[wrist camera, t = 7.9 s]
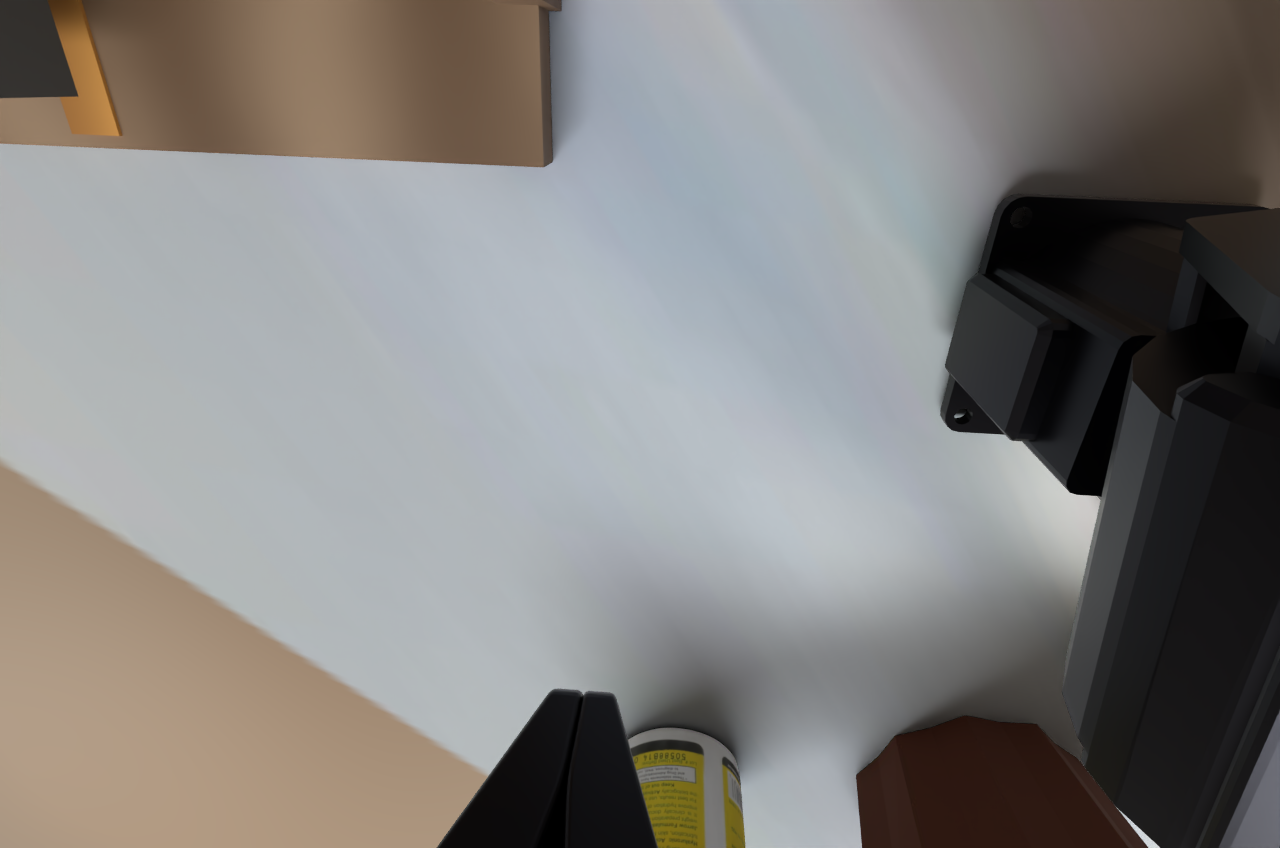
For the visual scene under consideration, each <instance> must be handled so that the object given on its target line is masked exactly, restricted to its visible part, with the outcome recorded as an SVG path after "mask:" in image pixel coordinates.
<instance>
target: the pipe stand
mask: <svg viewBox="0 0 1280 848" xmlns="http://www.w3.org/2000/svg"><path fill="white" fill-rule="evenodd" d="M48 3H49V6H50V9H51V12H52V16H53V19H54V22H55V25H56V28H57V31H58V34H59V37H60V40H61V43H62V47H63V50H64V53H65V56H66V59H67V62H68V65H69V68H70V71H71V74H72V78H73V81H74V84H75V87H76V90H77V93H78V96H79V97H33V98H0V143H2V144H25V145H47V146H70V147H93V148H116V149H139V150H162V151H184V152H207V153H230V154H253V155H276V156H299V157H322V158H344V159H367V160H390V161H413V162H436V163H459V164H481V165H504V166H527V167H545V166H547V165H548V164H550V163H552V162H553V157H552V118H551V79H550V40H549V11H561V0H48Z"/></svg>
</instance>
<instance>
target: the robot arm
mask: <svg viewBox="0 0 1280 848" xmlns="http://www.w3.org/2000/svg"><path fill="white" fill-rule="evenodd" d="M1021 207H1023V208H1024V209H1025V216H1024V217H1023V219H1022V221H1020V222H1019V223H1018V224H1015V225H1012V224H1011V216H1012V214H1013V212H1014V211H1015V210H1017V209H1018V208H1021ZM945 368H946V369H947V370H948V372H949V373H950V377H949V381H948V384H947V388H946V391H945V395H944V399H943V402H942V406H941V413H940V415H941V418H942V420H943V421H944V423H945V424H946V425H947V427H949V428H950V429H951V430H953V431H957V432H970V433H987V434H1004V435H1006V436H1007V437H1008V438H1009V439H1010V440H1012V441H1022V442H1023V443H1024V444H1025V445H1026V446H1027V447H1028V448H1029V449H1030V450H1031V452H1032V453H1033V454H1034V455H1035V456H1036V457H1037V458H1038V459H1039V460H1040V461H1041V462H1042V463H1043V464H1044V465H1045V466H1046V468H1047V469H1048V470H1049V471H1050V472H1051V473H1052V474H1053V475H1054V476H1055V477H1056V478H1057V479H1058V480H1059V481H1060V482H1061V484H1062V485H1063V486H1064V487H1065V488H1066V489H1067V490H1068V491H1069V492H1070V493H1073V494H1076V495H1091V496H1097V497H1098V498H1099V499H1100V500H1101V501H1100V506H1099V510H1098V515H1097V519H1096V524H1095V528H1094V533H1093V537H1092V542H1091V546H1090V551H1089V555H1088V560H1087V564H1086V569H1085V573H1084V578H1083V582H1082V587H1081V592H1080V596H1079V601H1078V605H1077V610H1076V614H1075V619H1074V623H1073V628H1072V632H1071V637H1070V641H1069V646H1068V650H1067V655H1066V662H1065V671H1064V680H1063V689H1062V694H1063V697H1064V700H1065V702H1066V705H1067V708H1068V711H1069V714H1070V717H1071V720H1072V722H1073V725H1074V728H1075V731H1076V734H1077V737H1078V739H1079V740H1080V742H1081V744H1082V745H1083V747H1084V749H1083V753H1082V758H1081V759H1082V761H1083V764H1084V766H1085V768H1086V769H1087V771H1088V772H1089V773H1090V774H1091V776H1092V777H1093V778H1094V780H1095V781H1096V782H1097V783H1098V785H1099V786H1100V787H1101V788H1102V790H1103V791H1104V792H1105V794H1106V795H1107V796H1108V797H1109V799H1110V800H1111V801H1112V803H1113V804H1114V805H1115V806H1116V807H1117V808H1118V809H1119V810H1120V811H1121V812H1122V813H1124V814H1125V815H1126V816H1127V817H1128V818H1129V819H1130V820H1131V821H1132V822H1133V823H1134V824H1135V825H1137V826H1138V827H1139V828H1140V829H1141V830H1142V831H1143V832H1144V833H1145V834H1146V835H1147V836H1148V837H1150V838H1151V839H1152V840H1153V841H1154V842H1155V843H1156V844H1157V845H1158V846H1159V847H1160V848H1280V208H1274V209H1268V208H1265V207H1261V206H1256V205H1251V204H1237V203H1214V202H1191V201H1169V200H1146V199H1123V198H1101V197H1078V196H1055V195H1033V194H1017V195H1011V196H1009V197H1008V198H1006V199H1004V200H1003V201H1002V202H1001V203H1000V204H999V205H998V206H997V209H996V211H995V213H994V216H993V219H992V223H991V227H990V230H989V234H988V238H987V241H986V245H985V249H984V252H983V256H982V260H981V263H980V267H979V271H978V273H977V274H976V275H974V276H973V277H972V278H971V279H970V280H969V281H968V282H967V285H966V288H965V292H964V296H963V300H962V303H961V307H960V311H959V315H958V318H957V322H956V326H955V330H954V333H953V337H952V341H951V345H950V348H949V352H948V356H947V359H946V363H945ZM964 408H967V412H966V414H965V415H964V416H962V417H960V418H954V415H955V413H956V412H957V411H958V410H960V409H964ZM437 848H658V845H657V841H656V838H655V834H654V831H653V827H652V824H651V820H650V817H649V813H648V809H647V806H646V802H645V799H644V795H643V792H642V788H641V785H640V781H639V777H638V774H637V770H636V767H635V763H634V760H633V756H632V753H631V749H630V745H629V742H628V738H627V735H626V731H625V728H624V724H623V721H622V717H621V713H620V710H619V706H618V703H617V699H616V697H615V695H614V694H612V693H608V692H595V691H588V692H586V693H585V694H584V695H583V694H582V692H580V691H578V690H568V689H554V690H552V691H551V692H550V693H549V694H548V695H547V696H546V698H545V699H544V700H543V702H542V703H541V704H540V706H539V707H538V709H537V710H536V711H535V713H534V714H533V715H532V717H531V718H530V720H529V721H528V722H527V724H526V725H525V726H524V728H523V729H522V731H521V732H520V733H519V735H518V736H517V738H516V739H515V740H514V742H513V743H512V744H511V746H510V747H509V749H508V750H507V751H506V753H505V754H504V755H503V757H502V758H501V760H500V761H499V762H498V764H497V765H496V767H495V768H494V769H493V771H492V772H491V773H490V775H489V776H488V778H487V779H486V780H485V782H484V783H483V785H482V786H481V787H480V789H479V790H478V791H477V793H476V794H475V795H474V797H473V798H472V800H471V801H470V802H469V804H468V805H467V807H466V808H465V809H464V811H463V812H462V813H461V815H460V816H459V818H458V819H457V820H456V822H455V823H454V824H453V826H452V827H451V829H450V830H449V831H448V833H447V834H446V836H445V837H444V839H443V840H442V841H441V842H440V844H439V845H438V847H437Z"/></svg>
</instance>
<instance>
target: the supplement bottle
mask: <svg viewBox="0 0 1280 848" xmlns="http://www.w3.org/2000/svg"><path fill="white" fill-rule="evenodd" d="M628 742H629V745H630V749H631V753H632V756H633V760H634V763H635V767H636V770H637V774H638V777H639V781H640V785H641V788H642V792H643V795H644V799H645V802H646V806H647V809H648V813H649V817H650V820H651V824H652V827H653V831H654V834H655V838H656V841H657V845H658V848H745V835H744V823H743V809H742V794H741V783H740V775H739V769H738V766H737V763H736V760H735V758H734V757H733V755H732V753H731V752H730V751H729V750H728V749H727V748H726V747H725V746H724V745H723V744H721V743H720V742H719V741H717V740H715V739H714V738H712V737H710V736H708V735H705V734H703V733H700V732H696V731H693V730H688V729H681V728H658V729H653V730H649V731H645V732H643V733H640V734H638V735H635V736H634V737H632V738H630V739H629V740H628Z"/></svg>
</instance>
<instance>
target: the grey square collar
mask: <svg viewBox="0 0 1280 848" xmlns="http://www.w3.org/2000/svg"><path fill="white" fill-rule="evenodd" d="M33 97H79V96H78V93H77V90H76V87H75V84H74V81H73V78H72V74H71V71H70V68H69V65H68V62H67V59H66V56H65V53H64V50H63V47H62V43H61V40H60V37H59V34H58V31H57V28H56V25H55V22H54V19H53V16H52V12H51V9H50V6H49V3H48V0H0V98H33Z"/></svg>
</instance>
